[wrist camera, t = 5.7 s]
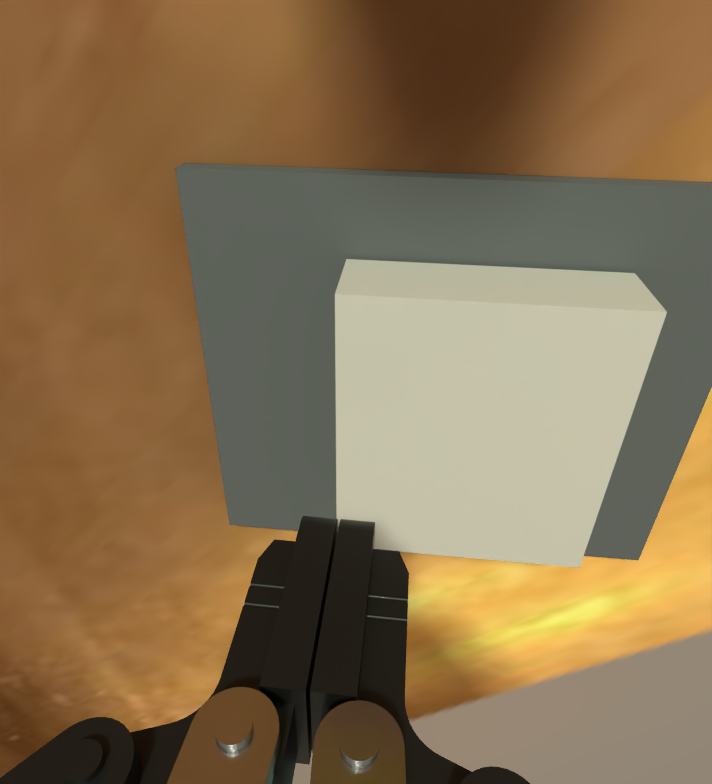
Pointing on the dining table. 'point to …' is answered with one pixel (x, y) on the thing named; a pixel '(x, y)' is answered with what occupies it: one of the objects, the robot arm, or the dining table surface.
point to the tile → (485, 403)
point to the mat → (425, 245)
